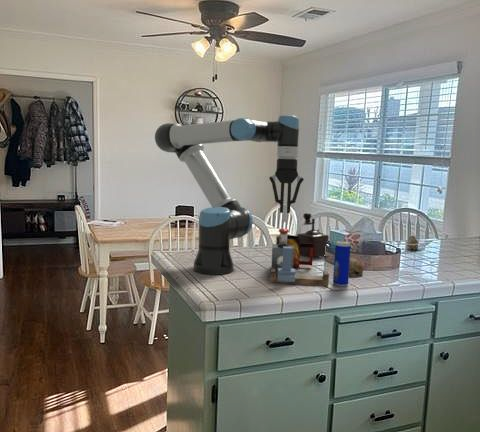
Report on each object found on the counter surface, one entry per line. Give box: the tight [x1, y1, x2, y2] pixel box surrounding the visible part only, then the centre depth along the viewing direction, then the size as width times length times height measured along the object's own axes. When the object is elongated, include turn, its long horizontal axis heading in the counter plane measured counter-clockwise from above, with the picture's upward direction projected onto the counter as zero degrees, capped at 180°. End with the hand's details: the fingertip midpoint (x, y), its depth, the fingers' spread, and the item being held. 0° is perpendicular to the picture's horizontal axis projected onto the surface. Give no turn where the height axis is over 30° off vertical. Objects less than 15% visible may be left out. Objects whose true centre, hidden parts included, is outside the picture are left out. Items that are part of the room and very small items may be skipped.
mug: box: [275, 234, 314, 270], centre depth 193 cm, size 10×14×12 cm
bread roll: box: [349, 257, 364, 277], centre depth 185 cm, size 10×10×8 cm
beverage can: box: [332, 240, 352, 287], centre depth 167 cm, size 5×5×15 cm
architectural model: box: [405, 234, 421, 251], centre depth 237 cm, size 3×7×7 cm, turn 118°
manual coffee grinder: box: [296, 212, 330, 259], centre depth 218 cm, size 16×11×18 cm
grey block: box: [270, 243, 294, 273], centre depth 182 cm, size 8×9×10 cm
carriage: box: [278, 246, 296, 282], centre depth 169 cm, size 6×8×11 cm
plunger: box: [278, 228, 290, 247], centre depth 181 cm, size 4×4×7 cm
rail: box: [269, 267, 330, 287], centre depth 169 cm, size 20×6×4 cm, turn 85°
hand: (284, 221), depth 180 cm, fingers closed
